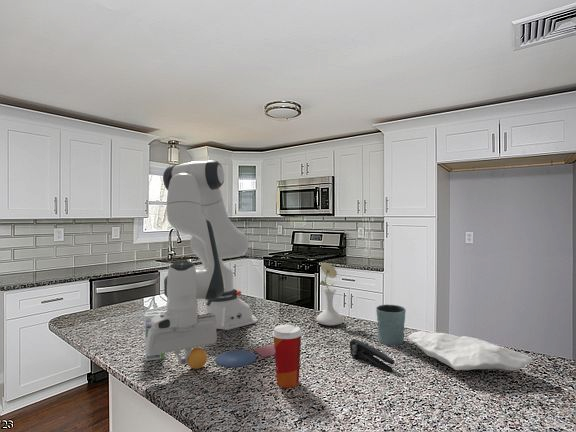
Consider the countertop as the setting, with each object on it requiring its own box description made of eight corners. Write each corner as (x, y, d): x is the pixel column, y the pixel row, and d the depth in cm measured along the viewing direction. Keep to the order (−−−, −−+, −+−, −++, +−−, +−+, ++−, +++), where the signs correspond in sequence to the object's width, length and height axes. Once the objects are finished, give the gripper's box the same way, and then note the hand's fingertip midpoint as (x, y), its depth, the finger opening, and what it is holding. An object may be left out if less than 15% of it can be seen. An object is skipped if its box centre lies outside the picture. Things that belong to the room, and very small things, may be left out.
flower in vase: (349, 325, 151) (348, 264, 151) (324, 329, 147) (323, 266, 146) (333, 317, 163) (333, 260, 163) (310, 320, 159) (309, 261, 159)
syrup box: (145, 361, 118) (144, 316, 118) (146, 354, 124) (146, 311, 124) (164, 359, 120) (163, 314, 119) (165, 352, 125) (164, 309, 125)
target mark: (246, 347, 129) (246, 347, 129) (262, 361, 117) (262, 360, 117) (209, 355, 122) (209, 355, 122) (223, 370, 111) (223, 369, 111)
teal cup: (400, 336, 138) (400, 304, 138) (410, 346, 128) (410, 311, 128) (373, 337, 138) (372, 304, 138) (380, 347, 128) (380, 312, 127)
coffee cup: (285, 373, 109) (285, 322, 108) (308, 381, 103) (308, 327, 103) (266, 384, 102) (265, 329, 102) (289, 393, 97) (288, 335, 96)
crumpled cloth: (524, 396, 91) (525, 357, 92) (389, 359, 114) (391, 328, 114) (536, 376, 109) (537, 345, 110) (417, 348, 132) (419, 322, 132)
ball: (190, 368, 115) (206, 354, 118) (197, 376, 110) (213, 361, 113) (180, 354, 113) (196, 340, 116) (187, 362, 108) (203, 347, 111)
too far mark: (274, 344, 131) (274, 344, 131) (285, 352, 124) (285, 351, 124) (253, 349, 127) (253, 348, 127) (263, 357, 120) (263, 356, 120)
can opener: (344, 355, 122) (344, 338, 122) (360, 351, 125) (360, 334, 125) (384, 376, 106) (384, 356, 106) (401, 370, 110) (401, 351, 110)
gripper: (213, 310, 119) (213, 353, 119) (145, 319, 109) (145, 367, 109) (219, 314, 113) (220, 360, 113) (148, 324, 103) (149, 374, 103)
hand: (183, 363), depth 111 cm, fingers closed
